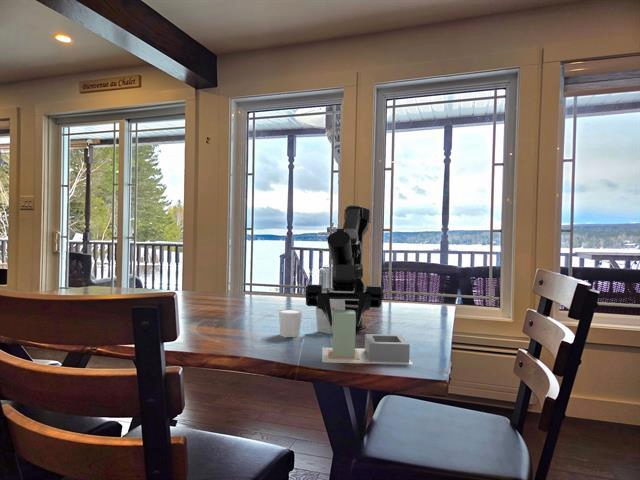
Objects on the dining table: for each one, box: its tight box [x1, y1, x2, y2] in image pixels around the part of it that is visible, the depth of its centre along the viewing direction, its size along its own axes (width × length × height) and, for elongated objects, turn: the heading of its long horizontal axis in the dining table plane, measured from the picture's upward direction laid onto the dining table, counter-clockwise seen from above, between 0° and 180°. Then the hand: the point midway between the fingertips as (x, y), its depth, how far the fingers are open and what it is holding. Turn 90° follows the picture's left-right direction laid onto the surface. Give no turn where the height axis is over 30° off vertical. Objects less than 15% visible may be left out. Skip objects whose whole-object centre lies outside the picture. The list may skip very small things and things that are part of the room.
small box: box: [315, 299, 345, 335], centre depth 121 cm, size 8×6×10 cm
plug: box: [332, 309, 357, 357], centre depth 93 cm, size 5×5×10 cm
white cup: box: [278, 309, 303, 338], centre depth 115 cm, size 7×7×7 cm
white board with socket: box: [321, 333, 414, 366], centre depth 92 cm, size 12×20×5 cm, turn 89°
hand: (344, 325), depth 91 cm, fingers open, 6 cm apart
